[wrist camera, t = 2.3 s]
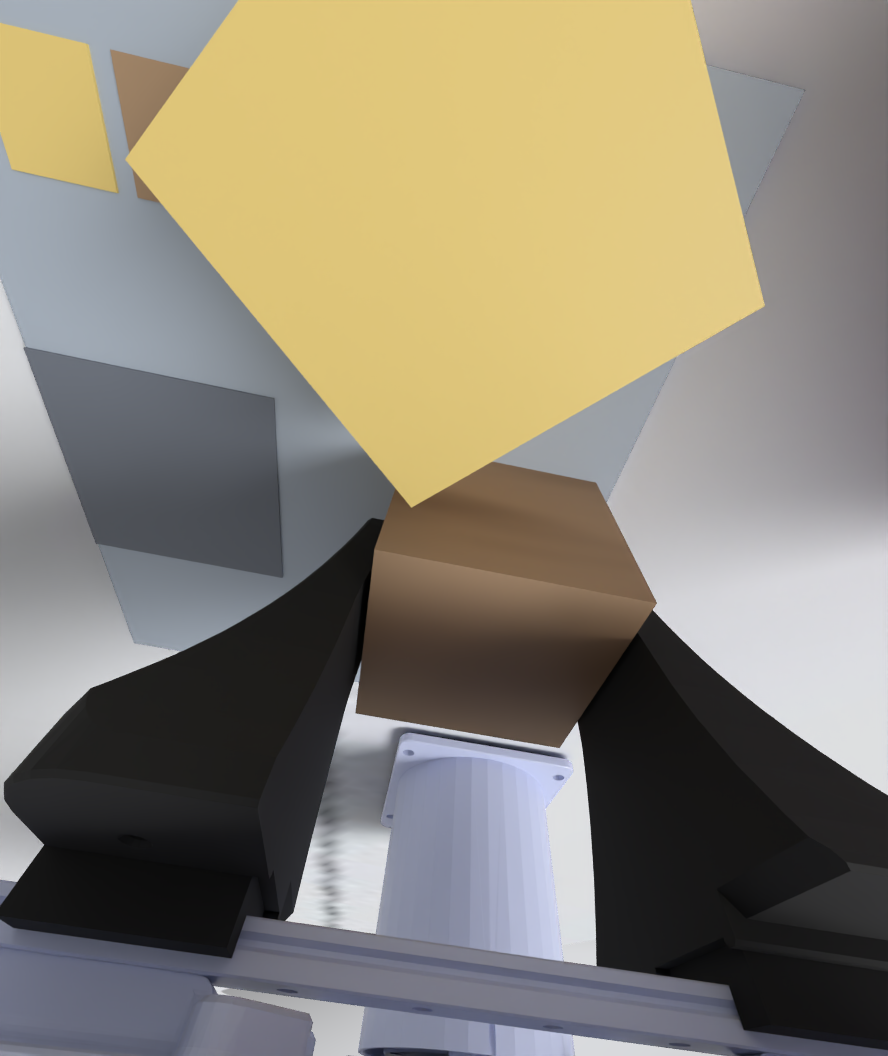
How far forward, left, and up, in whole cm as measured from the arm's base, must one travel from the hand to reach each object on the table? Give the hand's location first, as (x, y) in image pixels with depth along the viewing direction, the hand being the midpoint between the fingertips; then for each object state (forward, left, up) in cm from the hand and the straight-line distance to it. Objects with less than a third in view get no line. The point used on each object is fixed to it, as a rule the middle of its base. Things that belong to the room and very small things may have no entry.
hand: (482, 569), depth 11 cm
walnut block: (0, 0, -1) cm, 1 cm away
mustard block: (+7, +2, -1) cm, 7 cm away
